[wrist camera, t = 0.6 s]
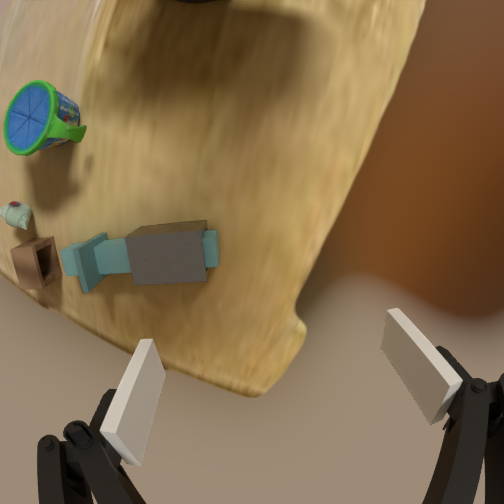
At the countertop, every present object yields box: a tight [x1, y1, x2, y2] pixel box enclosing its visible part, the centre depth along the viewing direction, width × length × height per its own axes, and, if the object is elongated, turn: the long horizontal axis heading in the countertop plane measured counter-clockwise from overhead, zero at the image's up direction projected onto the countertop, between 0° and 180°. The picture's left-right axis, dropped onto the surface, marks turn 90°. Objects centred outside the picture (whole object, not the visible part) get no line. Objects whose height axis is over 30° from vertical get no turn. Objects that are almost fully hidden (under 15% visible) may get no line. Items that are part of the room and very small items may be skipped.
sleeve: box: [125, 220, 210, 285], centre depth 37 cm, size 7×10×6 cm, turn 94°
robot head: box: [0, 201, 32, 230], centre depth 33 cm, size 8×4×7 cm, turn 66°
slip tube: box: [60, 230, 220, 293], centre depth 35 cm, size 6×24×9 cm, turn 94°
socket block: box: [10, 236, 62, 289], centre depth 36 cm, size 7×6×6 cm
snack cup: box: [4, 80, 87, 156], centre depth 28 cm, size 16×10×10 cm
